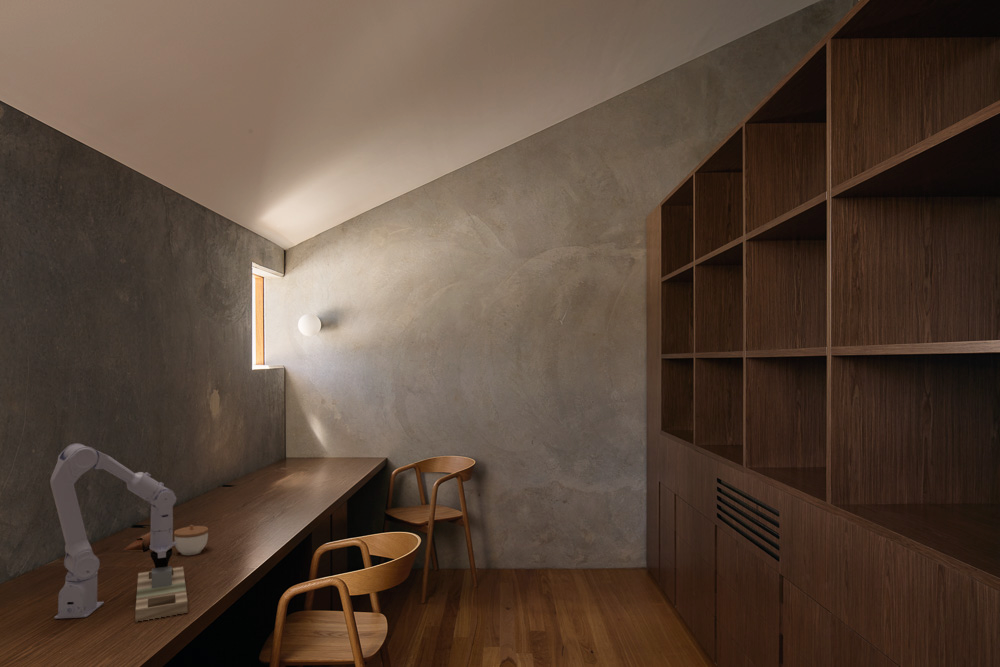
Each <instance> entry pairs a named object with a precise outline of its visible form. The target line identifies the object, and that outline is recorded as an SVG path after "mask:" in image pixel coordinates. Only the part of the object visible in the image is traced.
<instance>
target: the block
mask: <svg viewBox="0 0 1000 667" xmlns="http://www.w3.org/2000/svg"><path fill="white" fill-rule="evenodd" d="M172 568H173V567H172V565H168V566H167V567H160V568H155V567H153V568H151V571H152V588H158V587H164V586H170V585H172Z"/></svg>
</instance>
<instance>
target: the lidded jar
mask: <svg viewBox="0 0 1000 667" xmlns="http://www.w3.org/2000/svg"><path fill="white" fill-rule="evenodd" d="M173 538H174V539H173V540H174V541H173V542H177V545H176V546H175V548H176V550H177V552H179V553H180V554H181V555H183V556H195V555H198V554H200V553H202V550H204V548H205V547H206V545H207V543H208V540H209V528H208V526H205V525H193V524H190V525H189V526H185V527H181V528H178V529H175V530H174V531H173Z"/></svg>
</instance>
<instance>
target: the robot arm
mask: <svg viewBox="0 0 1000 667" xmlns="http://www.w3.org/2000/svg"><path fill="white" fill-rule="evenodd" d="M91 469H94V470H104V471H107V472H108V473H109V474H111V475H113V476H115V477H117V478H118V479H120V480H122V481H123V482H125V483H126V489H127V490H128V491H129V492H132V493H133V494H134V495H136V496H138V497H139V498H141V499H143V501H147V503H148V504H149V505H150V532H151V536H150V548H149V549H150V550H151V551H150V558H151V559H152V561H153V564H154V568H160V567H167V566H169V562H170V559H171V557H172V555H173V548H172V547H176V545H177V542H175V541H173V540H174V539H173V538H174V531H173V530H174V515H173V514H174V512H173V511H174V510H173V507H174V505H175V504H176V502H177V496H176V494H175V492H174V491H173V489H171V488H168V487H166V486H164V485H165V484H164V482H161V481H157V480H156V479H154V478H152V477H151V476H152V474H150V473H149V472H146V471H145V472H143V471H139V472H134V471H132V470H131V469H129V468H128V467H126V466H125V465H123V464H122V463H120V462H119V461H117V460H116V459H114V458H113V457H111V456H110V455H108V454H106V453H103V452H101V451H99V450H96V449H95V448H94V447H91V446H86V445H85V444H82V443H80V442H79V443H78V442H77V443H71V444H69V445H68V446H67V447H65V448H64V449H63V450H62V451H61V452H60V453H59V455H58V457H57V462H56V465H55V466H54V470H53V472H52V474H51V477H50V480H49V484H50V488H51V491H52V495H53V499H54V502H55V507H56V510H57V515H58V519H59V523H60V527H61V531H62V535H63V539H64V543H65V545H64V551H65V557H64V561H63V565H64V567H65V569H66V570H68V572H67V573H66V575H65V578H64V579H65V583H64V585H63V586H62V588H61V589H60V591H59V592H58V600H57V601H58V603H57V604H58V605H57V606H58V607H57V609H58V610H57V611H58V613H57V614H56V615H55V616H54V619H55V620H56V619H73V618H74V619H77V618H87V617H89V616H90V615H91V614H92V613H94V612H95V611H96V610H97V609H98V608H100V607H101V606H103V605H104V601H98V571H99V569H100V565H101V563H100V559H99V557H98V556H96V555H95V554H94V552H93V549H92V546H91V544H90V542H89V540H88V535H87V533H86V529H85V524H84V520H83V516H82V512H81V508H80V504H79V501H78V495H77V493H76V487H75V484H76V482H77V481H78V480H79V479H80V477H81V476H82V475H84V474H85V473H86V472H88V471H89V470H91Z"/></svg>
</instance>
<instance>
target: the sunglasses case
mask: <svg viewBox="0 0 1000 667" xmlns="http://www.w3.org/2000/svg"><path fill="white" fill-rule="evenodd" d="M150 536H151V531H149V532H148V533H146V534H143V535H140V537H139V536H138V538H136V540H135V541H132V543H130V544H129V545H127V546H126V547H124V549H123V550H143V551H144V552H145V551H147V550H149V549H150Z"/></svg>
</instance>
